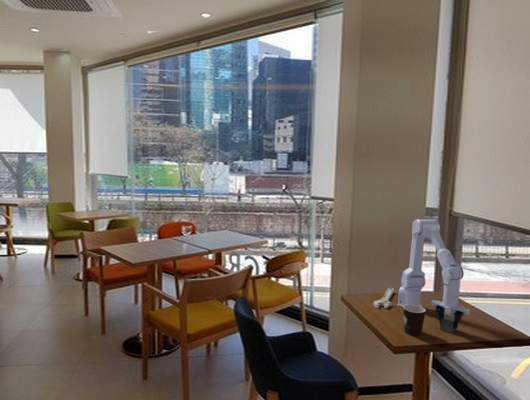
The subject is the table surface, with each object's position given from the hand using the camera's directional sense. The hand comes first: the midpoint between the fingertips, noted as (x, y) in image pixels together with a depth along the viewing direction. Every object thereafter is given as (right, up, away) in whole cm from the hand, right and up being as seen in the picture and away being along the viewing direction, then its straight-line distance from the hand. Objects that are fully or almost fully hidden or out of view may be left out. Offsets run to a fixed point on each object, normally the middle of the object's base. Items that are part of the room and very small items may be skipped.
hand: (448, 326), depth 172 cm
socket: (0, -1, 0) cm, 1 cm away
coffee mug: (-15, -2, -2) cm, 16 cm away
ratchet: (+9, 0, +18) cm, 20 cm away
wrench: (-12, +3, +34) cm, 36 cm away
